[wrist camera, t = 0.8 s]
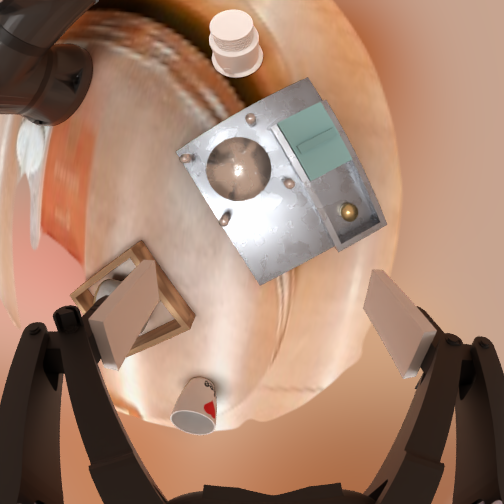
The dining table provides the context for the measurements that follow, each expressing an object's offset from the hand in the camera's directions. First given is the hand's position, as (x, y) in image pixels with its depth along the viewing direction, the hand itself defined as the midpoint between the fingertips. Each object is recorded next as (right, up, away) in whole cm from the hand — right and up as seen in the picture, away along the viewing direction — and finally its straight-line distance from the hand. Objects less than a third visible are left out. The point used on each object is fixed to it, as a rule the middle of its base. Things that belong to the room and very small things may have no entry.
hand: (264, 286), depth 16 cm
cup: (-11, -25, +34) cm, 43 cm away
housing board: (+4, +12, +21) cm, 24 cm away
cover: (+7, +16, +15) cm, 23 cm away
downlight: (-3, +29, +15) cm, 33 cm away
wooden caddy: (-21, -6, +28) cm, 35 cm away
